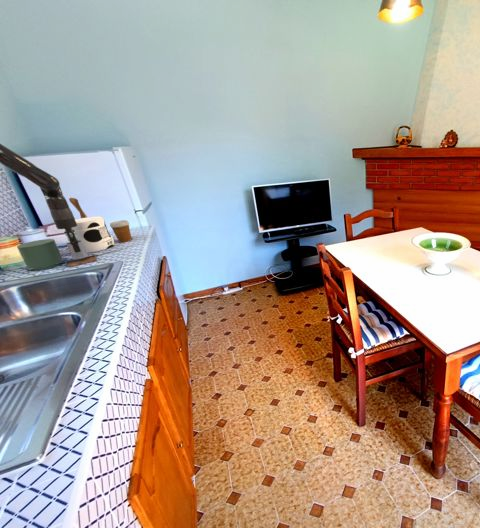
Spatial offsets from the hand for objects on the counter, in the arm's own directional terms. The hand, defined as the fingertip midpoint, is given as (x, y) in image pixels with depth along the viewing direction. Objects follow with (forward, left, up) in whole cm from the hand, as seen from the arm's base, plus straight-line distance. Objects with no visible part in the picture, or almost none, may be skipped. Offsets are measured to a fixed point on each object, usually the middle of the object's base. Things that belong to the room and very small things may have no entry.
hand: (77, 250), depth 150 cm
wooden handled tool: (+9, +40, -6) cm, 41 cm away
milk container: (+8, +16, -6) cm, 19 cm away
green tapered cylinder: (-13, +8, -6) cm, 16 cm away
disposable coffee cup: (+23, +26, -6) cm, 35 cm away
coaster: (0, 0, -6) cm, 6 cm away
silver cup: (0, 0, -4) cm, 4 cm away
